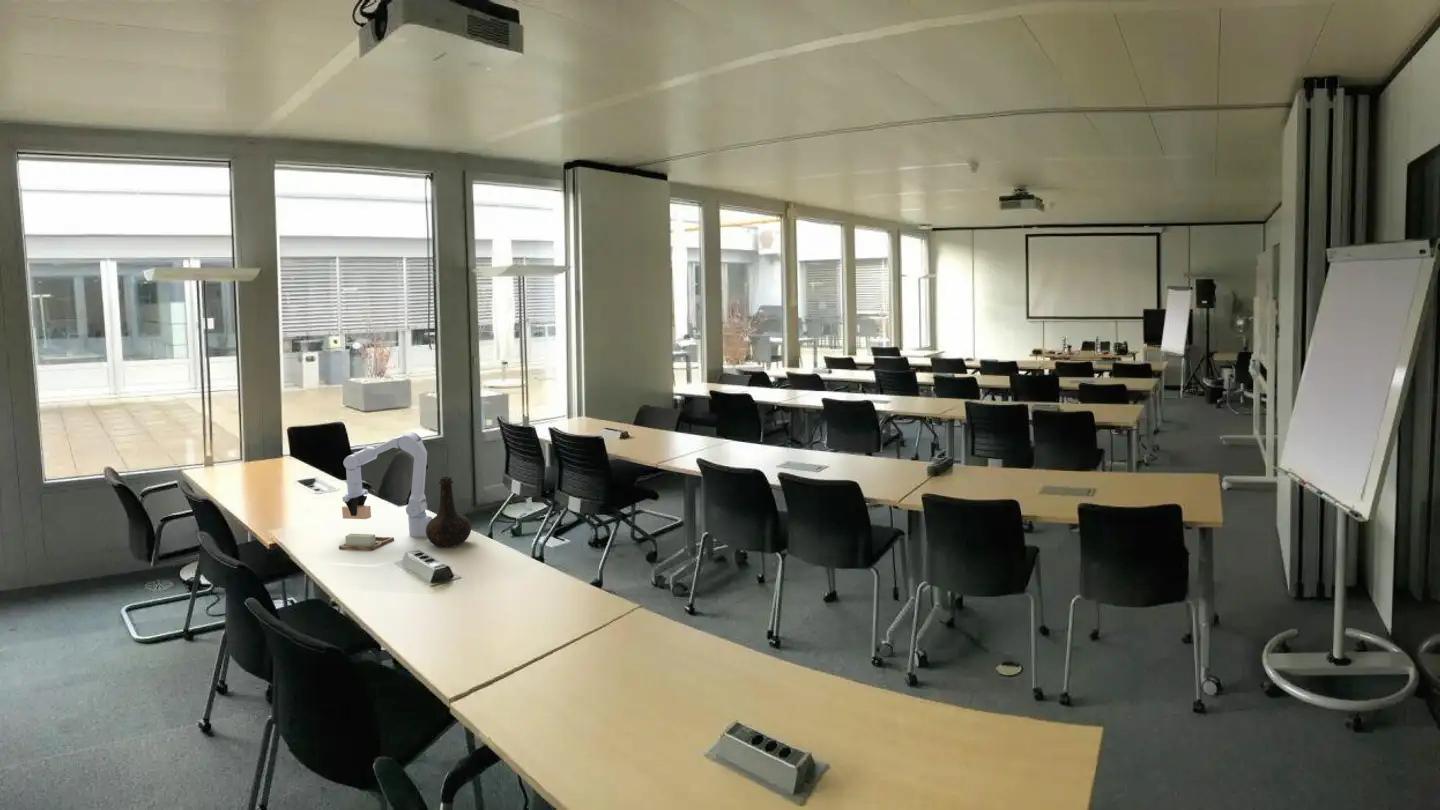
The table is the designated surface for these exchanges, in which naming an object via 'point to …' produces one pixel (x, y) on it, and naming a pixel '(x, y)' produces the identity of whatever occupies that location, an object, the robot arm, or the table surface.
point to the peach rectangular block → (362, 512)
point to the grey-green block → (360, 540)
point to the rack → (379, 542)
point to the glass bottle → (447, 520)
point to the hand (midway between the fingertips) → (356, 514)
